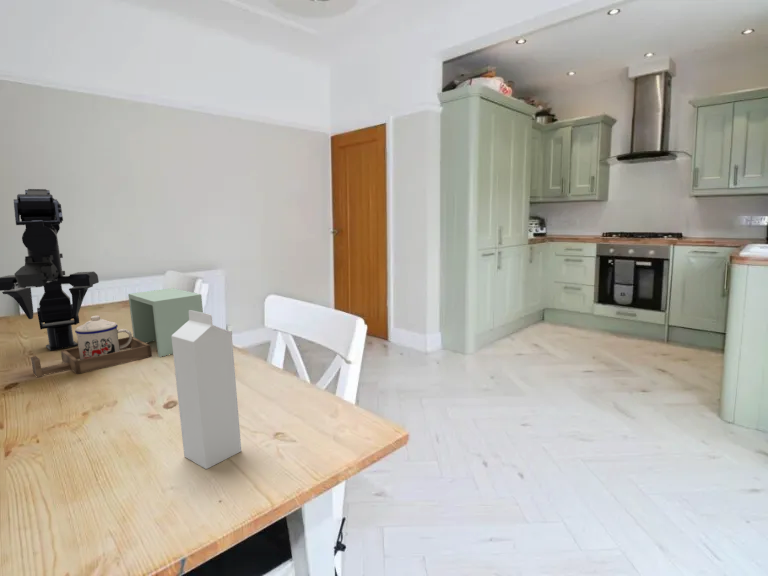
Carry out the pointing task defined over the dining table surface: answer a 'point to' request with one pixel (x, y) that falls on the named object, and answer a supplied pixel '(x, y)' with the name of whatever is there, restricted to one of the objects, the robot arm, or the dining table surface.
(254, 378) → the dining table surface
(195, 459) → the milk
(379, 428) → the dining table surface
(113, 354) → the tray
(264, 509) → the dining table surface
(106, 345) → the teacup with lid
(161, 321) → the shelf
